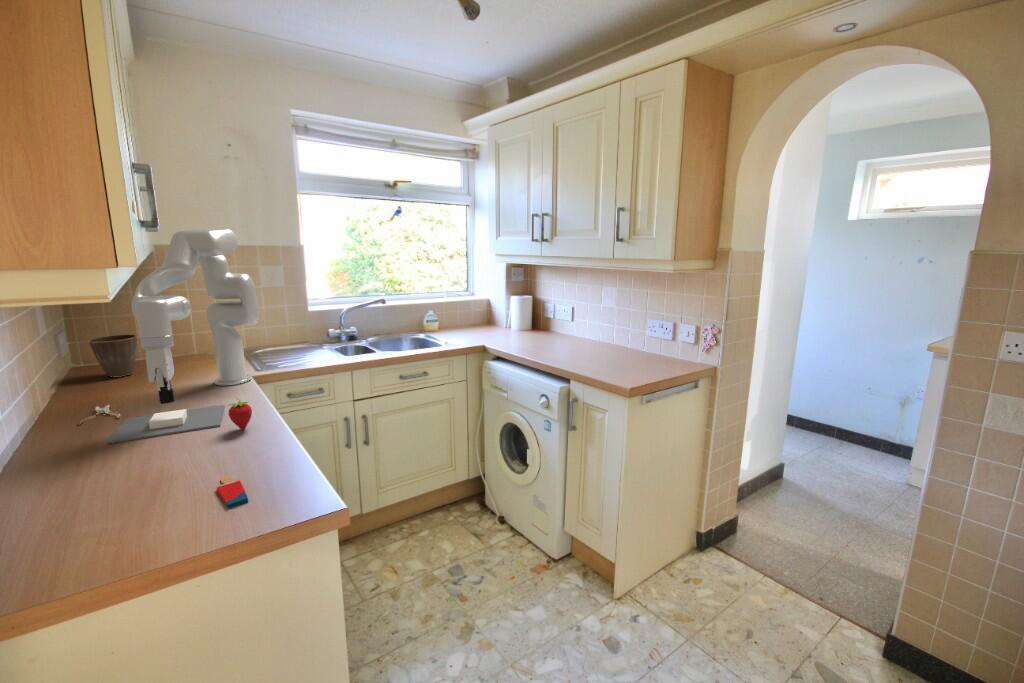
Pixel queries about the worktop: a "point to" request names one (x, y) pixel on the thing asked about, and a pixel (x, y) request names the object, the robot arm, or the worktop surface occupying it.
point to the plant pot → (115, 353)
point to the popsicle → (232, 492)
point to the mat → (194, 421)
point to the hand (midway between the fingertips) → (167, 402)
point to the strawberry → (240, 414)
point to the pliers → (103, 409)
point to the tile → (168, 419)
